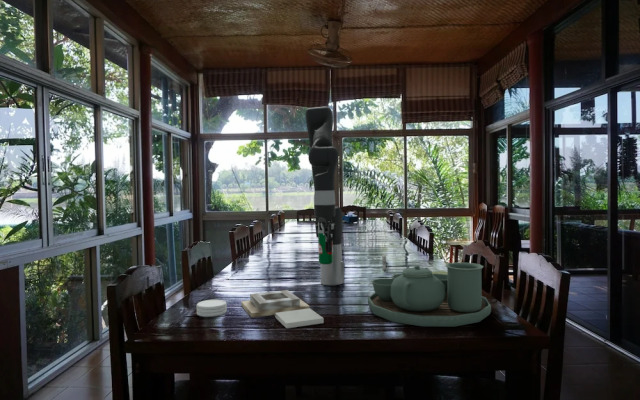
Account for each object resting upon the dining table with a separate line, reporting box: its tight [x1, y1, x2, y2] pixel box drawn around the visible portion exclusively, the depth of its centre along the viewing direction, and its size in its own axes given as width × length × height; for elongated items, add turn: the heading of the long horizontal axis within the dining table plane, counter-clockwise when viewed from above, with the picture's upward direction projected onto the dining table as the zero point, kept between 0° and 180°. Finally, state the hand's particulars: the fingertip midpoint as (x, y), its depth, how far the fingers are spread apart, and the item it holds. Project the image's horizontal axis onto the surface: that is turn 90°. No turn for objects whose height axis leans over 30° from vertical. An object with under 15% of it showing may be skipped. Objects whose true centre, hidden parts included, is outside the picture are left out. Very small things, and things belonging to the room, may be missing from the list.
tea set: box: [367, 262, 492, 328], centre depth 148 cm, size 40×40×16 cm
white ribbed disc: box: [195, 299, 228, 318], centre depth 149 cm, size 10×10×4 cm
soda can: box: [317, 230, 333, 265], centre depth 156 cm, size 5×5×12 cm
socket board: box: [240, 289, 310, 319], centre depth 153 cm, size 20×16×4 cm
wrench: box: [382, 254, 387, 271], centre depth 225 cm, size 8×2×30 cm
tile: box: [274, 307, 325, 329], centre depth 139 cm, size 12×12×2 cm
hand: (325, 250), depth 156 cm, fingers closed on soda can, 5 cm apart
